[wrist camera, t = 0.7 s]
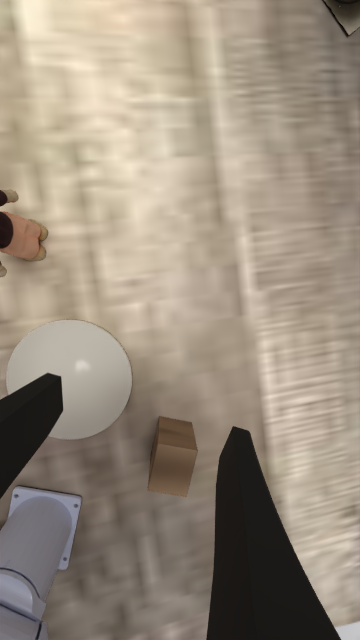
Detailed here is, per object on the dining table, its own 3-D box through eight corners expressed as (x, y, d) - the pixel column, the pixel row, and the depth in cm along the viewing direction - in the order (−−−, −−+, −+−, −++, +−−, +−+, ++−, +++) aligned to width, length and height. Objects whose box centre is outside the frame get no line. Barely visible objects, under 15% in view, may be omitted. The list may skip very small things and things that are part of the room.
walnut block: (182, 460, 32) (186, 497, 27) (150, 454, 32) (147, 490, 26) (191, 422, 32) (197, 450, 26) (159, 416, 32) (158, 443, 26)
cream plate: (119, 445, 32) (118, 449, 31) (0, 424, 31) (-4, 427, 30) (143, 333, 31) (143, 334, 30) (22, 307, 30) (18, 307, 29)
